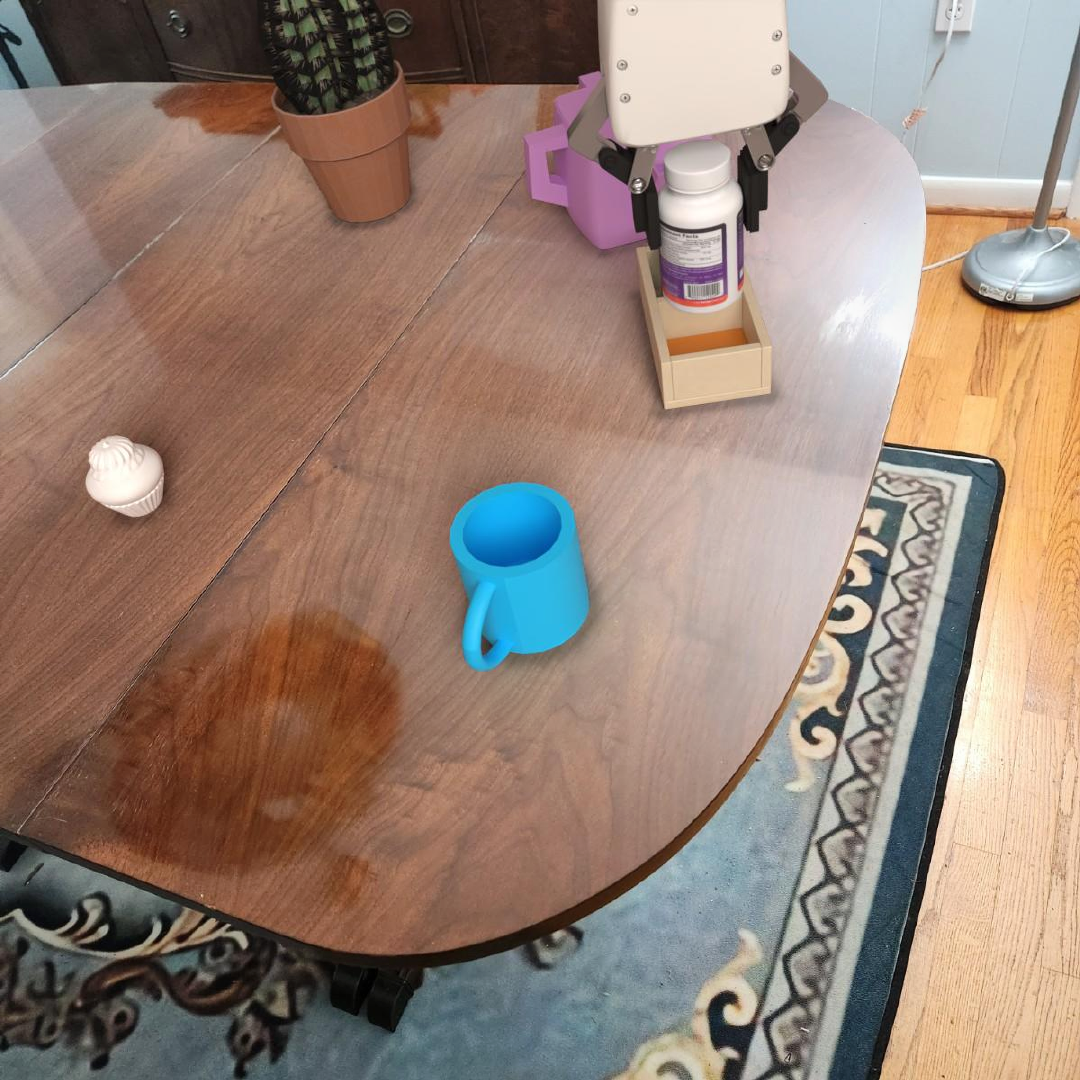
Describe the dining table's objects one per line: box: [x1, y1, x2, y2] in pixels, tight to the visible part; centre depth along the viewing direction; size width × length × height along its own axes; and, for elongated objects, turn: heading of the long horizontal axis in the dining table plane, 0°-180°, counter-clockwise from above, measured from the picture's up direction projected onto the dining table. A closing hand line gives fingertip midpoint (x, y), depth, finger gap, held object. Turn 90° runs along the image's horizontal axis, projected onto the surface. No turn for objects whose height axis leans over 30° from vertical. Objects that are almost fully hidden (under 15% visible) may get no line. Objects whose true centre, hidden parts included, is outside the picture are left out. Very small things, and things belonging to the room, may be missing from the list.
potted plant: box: [256, 0, 413, 224], centre depth 102 cm, size 14×14×25 cm
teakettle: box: [522, 70, 713, 251], centre depth 98 cm, size 17×17×12 cm
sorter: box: [635, 245, 773, 411], centre depth 85 cm, size 9×16×5 cm, turn 3°
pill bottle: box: [658, 139, 745, 314], centre depth 63 cm, size 5×5×10 cm
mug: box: [449, 481, 591, 672], centre depth 66 cm, size 12×8×8 cm
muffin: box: [85, 434, 165, 518], centre depth 81 cm, size 6×6×7 cm
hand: (700, 227), depth 63 cm, fingers closed on pill bottle, 5 cm apart
